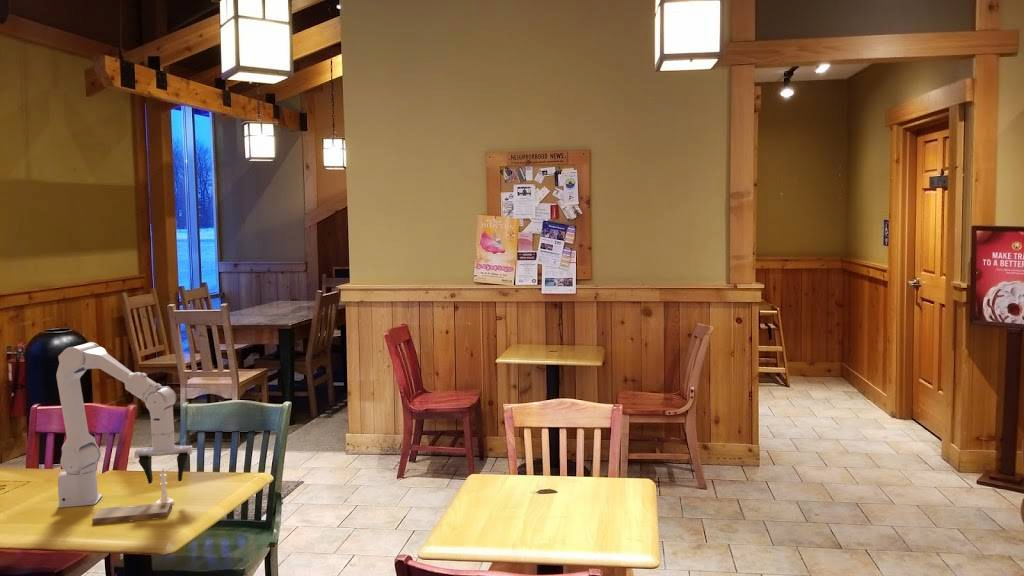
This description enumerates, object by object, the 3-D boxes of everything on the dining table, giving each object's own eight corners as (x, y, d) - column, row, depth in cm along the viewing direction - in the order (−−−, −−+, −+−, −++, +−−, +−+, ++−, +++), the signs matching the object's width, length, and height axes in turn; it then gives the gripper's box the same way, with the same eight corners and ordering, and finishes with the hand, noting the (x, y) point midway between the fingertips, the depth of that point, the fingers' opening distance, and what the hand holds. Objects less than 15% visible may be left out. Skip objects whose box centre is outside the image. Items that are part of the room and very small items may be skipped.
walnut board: (92, 524, 222) (92, 518, 222) (100, 513, 230) (99, 508, 230) (166, 517, 226) (166, 511, 226) (172, 507, 234) (171, 501, 233)
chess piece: (171, 506, 235) (169, 470, 234) (152, 507, 234) (150, 471, 233) (176, 500, 239) (174, 465, 239) (158, 501, 239) (156, 466, 238)
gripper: (131, 438, 230) (134, 487, 231) (188, 434, 233) (191, 483, 234) (136, 431, 237) (139, 480, 238) (192, 427, 240) (195, 475, 241)
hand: (165, 481), depth 237 cm, fingers open, 7 cm apart
